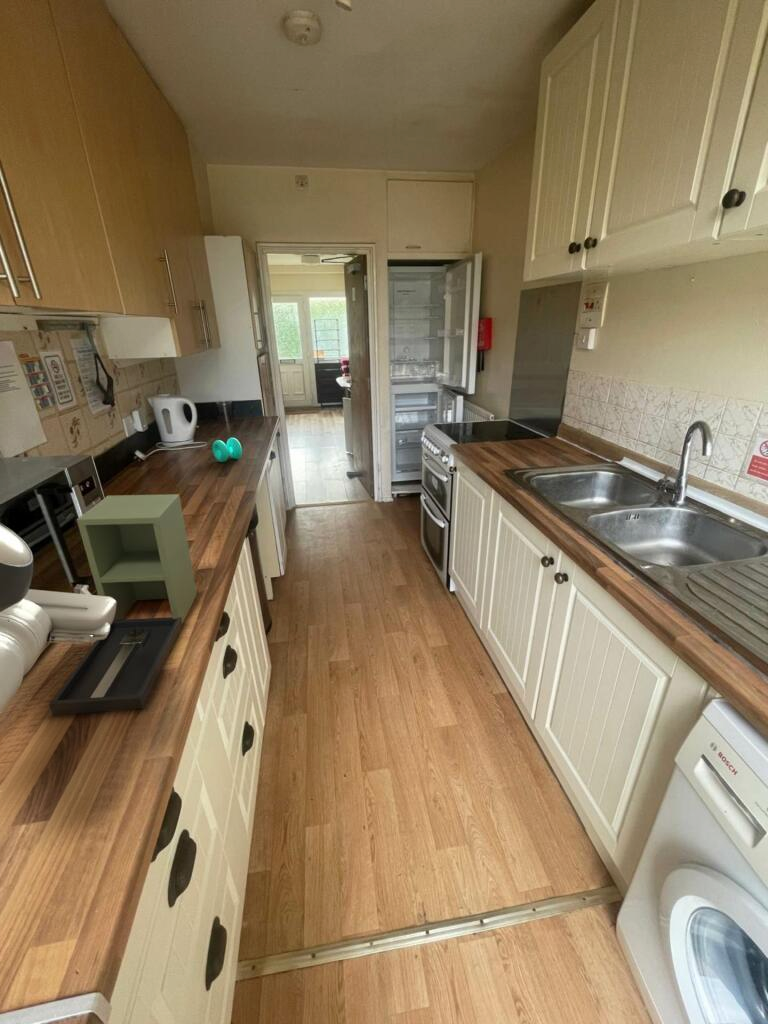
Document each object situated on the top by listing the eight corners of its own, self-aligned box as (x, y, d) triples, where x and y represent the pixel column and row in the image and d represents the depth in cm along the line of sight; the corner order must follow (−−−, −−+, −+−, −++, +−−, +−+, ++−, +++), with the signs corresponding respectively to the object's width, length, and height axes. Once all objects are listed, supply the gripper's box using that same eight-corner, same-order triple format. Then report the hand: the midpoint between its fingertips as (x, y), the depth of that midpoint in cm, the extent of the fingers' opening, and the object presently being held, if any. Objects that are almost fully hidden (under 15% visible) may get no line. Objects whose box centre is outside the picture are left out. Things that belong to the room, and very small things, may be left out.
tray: (52, 715, 68) (48, 704, 67) (113, 629, 87) (110, 620, 86) (142, 708, 70) (139, 698, 69) (183, 625, 89) (181, 616, 88)
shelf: (108, 631, 87) (76, 519, 77) (133, 597, 98) (107, 495, 88) (180, 627, 88) (158, 517, 78) (196, 594, 99) (179, 494, 89)
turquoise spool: (212, 460, 197) (209, 439, 193) (232, 456, 204) (229, 435, 200) (224, 464, 191) (221, 442, 187) (244, 460, 198) (241, 439, 194)
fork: (111, 701, 70) (109, 696, 69) (85, 703, 69) (83, 698, 69) (152, 630, 86) (151, 625, 86) (131, 631, 86) (130, 626, 85)
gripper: (109, 620, 54) (129, 574, 66) (-115, 603, 45) (-44, 555, 57) (100, 664, 55) (122, 611, 67) (-119, 656, 46) (-48, 597, 59)
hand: (44, 585), depth 62 cm, fingers open, 8 cm apart
